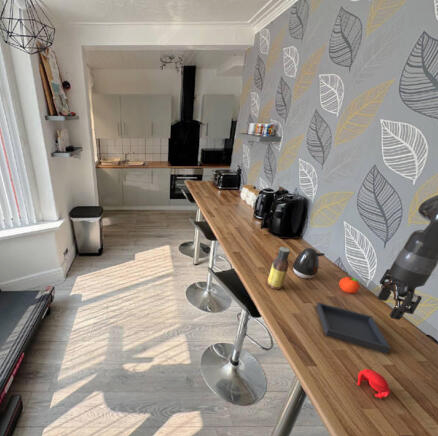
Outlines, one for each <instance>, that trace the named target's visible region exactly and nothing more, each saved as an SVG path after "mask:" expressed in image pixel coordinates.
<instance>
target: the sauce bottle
mask: <svg viewBox="0 0 438 436" xmlns="http://www.w3.org/2000/svg"><path fill="white" fill-rule="evenodd" d="M290 253H291V249H290V248H288V247H286V246H280V247H279V249H278V254H277V256H276V257H275V259H273V261H272V263H271V267H270V271H269V274H268V278H267V283H266V284H267V285H268V286H269V287H270V288H271V289H273V290H281V289H282V288H283V285H284V281H285V279H286V276H287V273H288V269H289V264H290V263H289V260H288V257H289V255H290Z"/></svg>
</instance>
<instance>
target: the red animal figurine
mask: <svg viewBox="0 0 438 436" xmlns="http://www.w3.org/2000/svg"><path fill="white" fill-rule="evenodd" d="M357 380H358V381H357V386H361V383H362V382H363V381H366V382H368V383H369V386H370V387H371V388H372V389H373V390H375V391H376V392H377V393H375V394H374V396H375V397H376V398H379V399H384V398H387V397H389V396H390V394H391V389H390V386H389V383H388V381H387V379H385V377H384V376H382V374H380V373H379V372H377V371H375V370H373V369H370V368H365V369H362V370H360V371H359V372H358V375H357Z"/></svg>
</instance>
